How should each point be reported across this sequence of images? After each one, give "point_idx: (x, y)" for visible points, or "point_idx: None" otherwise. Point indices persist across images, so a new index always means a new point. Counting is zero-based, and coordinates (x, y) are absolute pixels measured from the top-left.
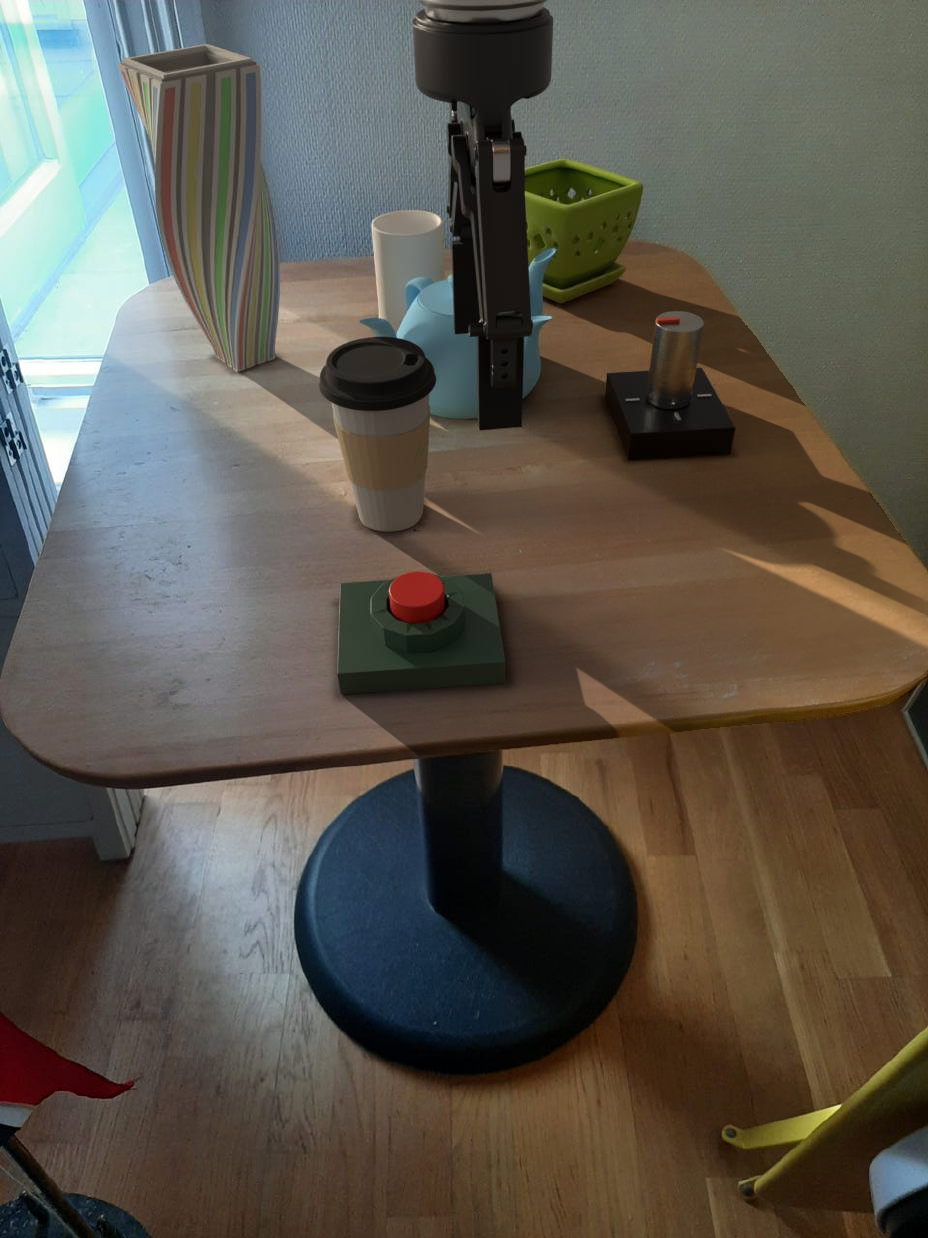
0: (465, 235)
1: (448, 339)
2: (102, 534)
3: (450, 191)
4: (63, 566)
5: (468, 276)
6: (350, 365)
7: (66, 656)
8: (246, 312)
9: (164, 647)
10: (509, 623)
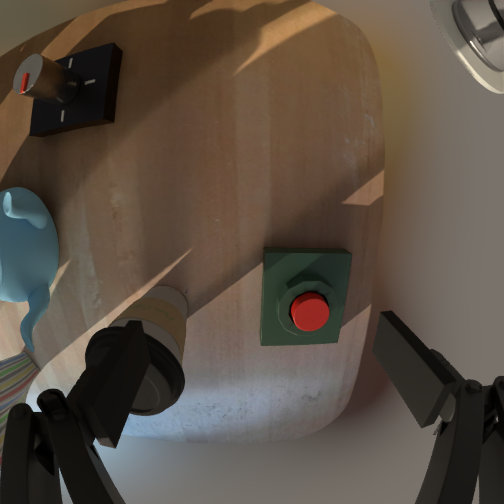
0: (89, 436)
1: (18, 274)
2: (188, 430)
3: (60, 487)
4: (213, 439)
5: (123, 397)
6: (139, 401)
7: (276, 431)
8: (19, 383)
9: (278, 405)
10: (295, 238)
